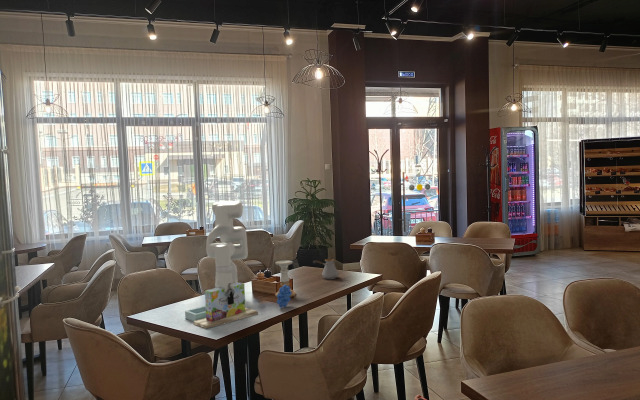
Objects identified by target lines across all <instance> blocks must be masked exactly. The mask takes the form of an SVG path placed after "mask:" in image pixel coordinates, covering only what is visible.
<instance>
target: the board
mask: <svg viewBox="0 0 640 400" xmlns="http://www.w3.org/2000/svg"><path fill="white" fill-rule="evenodd" d="M252 315H253V316H256V315H259V311H258V310H255V309H251V308H247V307H245V312H242V313H239V314H236V315H233V316H229V317H226V318H223V319H220V320H217V321H214V322H211V321H208V320H206V318H203V319H200V320H196V321H194V322H193V325H195V326H197V325H198V327H200V326H201V328H202V327H204V328H203V329H205V328H208V329H210V328H209V327H211V328H214V326H215V327H218V326H221V325H225V324H228V323H231V322H234V321H238V319H239V320H242V319H246V318H249V317H252ZM245 317H246V318H245ZM224 323H225V324H224ZM217 325H218V326H217Z"/></svg>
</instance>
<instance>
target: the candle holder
mask: <svg viewBox="0 0 640 400" xmlns="http://www.w3.org/2000/svg"><path fill="white" fill-rule="evenodd" d="M274 264H275V265H276V266H279V267H280V269H281V270H280V271H279V272H280V280H279V281H280V284H279V285H280V286H281V287H283V285H285V284H286V285H287V286H290V285H291V283H290V282H289V281H290V276H289V270H288V267H289V265H293V260H290V259H289V260H287V259H285V260H284V259H283V260H278V261H275V263H274ZM290 291H291V293H292V294H291V296H289V297H290V298H292V297H295V296H296V294H297V292H296V291H295V290H293V289H291V288H290ZM278 293H280V292H279V290H278V291H277V292H276V293H274V295H275V297H276V298H277V294H278Z"/></svg>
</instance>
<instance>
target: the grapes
mask: <svg viewBox="0 0 640 400" xmlns="http://www.w3.org/2000/svg"><path fill="white" fill-rule="evenodd" d="M290 289H291V287H290V285H289V286H287V285H286V284H285V285H283V287H282V286H281V287H280V288H279V289H278V291H279V292H280V293H278V294H277V297H276V298H277V300H276V304H277V305H279V308H281V309H282V308H283V307H284V308H286V307H287V306H288V303H290V302H291V297H289V296H291V294H292V293H291V291H290Z"/></svg>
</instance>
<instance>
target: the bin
mask: <svg viewBox="0 0 640 400" xmlns="http://www.w3.org/2000/svg"><path fill="white" fill-rule="evenodd" d="M184 313H185V315H184V316H185V318H184V319H185V320H188V321H191V322H193V323H194V321H196V320H200V319H203V318H206V305H204V306H198V307H195V308H191V309H188V310H185V311H184Z"/></svg>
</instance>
